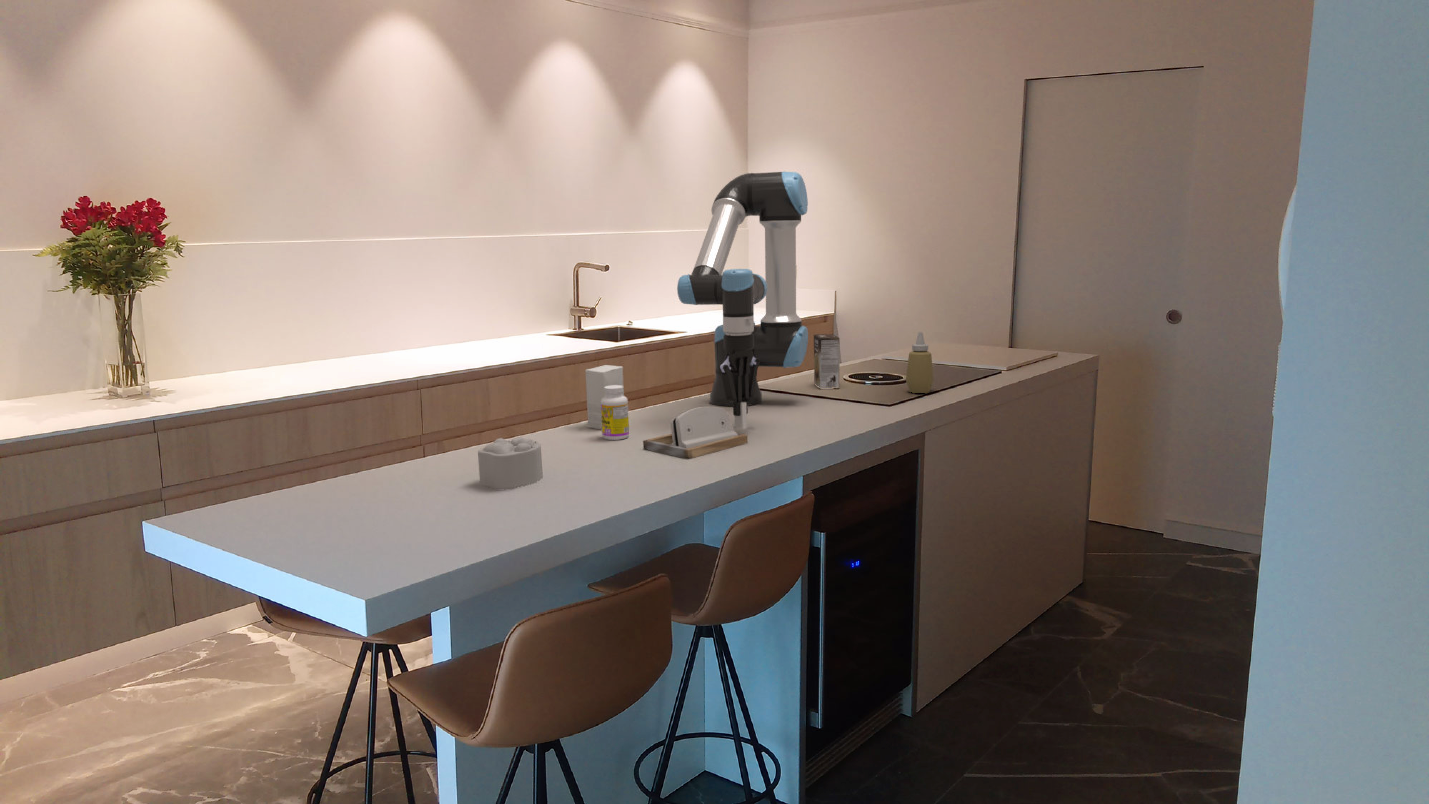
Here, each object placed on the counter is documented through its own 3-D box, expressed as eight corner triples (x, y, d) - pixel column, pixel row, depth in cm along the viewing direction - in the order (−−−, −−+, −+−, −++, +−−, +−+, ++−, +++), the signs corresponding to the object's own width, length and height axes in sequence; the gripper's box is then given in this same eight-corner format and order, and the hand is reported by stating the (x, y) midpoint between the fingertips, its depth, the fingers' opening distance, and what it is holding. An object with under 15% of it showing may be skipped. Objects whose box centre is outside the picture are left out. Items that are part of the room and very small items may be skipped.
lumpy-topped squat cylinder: (473, 483, 199) (470, 443, 197) (523, 470, 209) (521, 431, 207) (504, 491, 192) (502, 450, 191) (554, 477, 202) (552, 437, 201)
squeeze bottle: (912, 389, 292) (913, 330, 289) (937, 391, 287) (938, 331, 284) (901, 393, 286) (901, 333, 282) (926, 395, 281) (927, 334, 277)
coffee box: (813, 385, 304) (813, 334, 301) (833, 384, 304) (833, 333, 301) (819, 389, 295) (819, 337, 292) (840, 389, 295) (840, 337, 292)
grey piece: (686, 452, 220) (675, 410, 221) (674, 456, 224) (664, 414, 225) (740, 440, 231) (730, 400, 232) (728, 444, 235) (718, 404, 235)
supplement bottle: (599, 436, 239) (596, 385, 237) (624, 433, 242) (622, 383, 239) (607, 441, 233) (604, 390, 231) (632, 438, 236) (630, 387, 233)
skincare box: (608, 422, 256) (605, 364, 253) (627, 424, 252) (624, 366, 249) (586, 428, 249) (583, 368, 246) (605, 430, 245) (603, 370, 242)
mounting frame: (643, 448, 225) (643, 440, 225) (702, 434, 239) (702, 426, 238) (688, 459, 215) (688, 450, 214) (747, 443, 228) (747, 434, 228)
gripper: (731, 337, 226) (733, 434, 230) (768, 331, 235) (769, 425, 239) (708, 335, 231) (711, 430, 236) (745, 329, 240) (747, 421, 245)
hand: (740, 427), depth 238 cm, fingers closed
